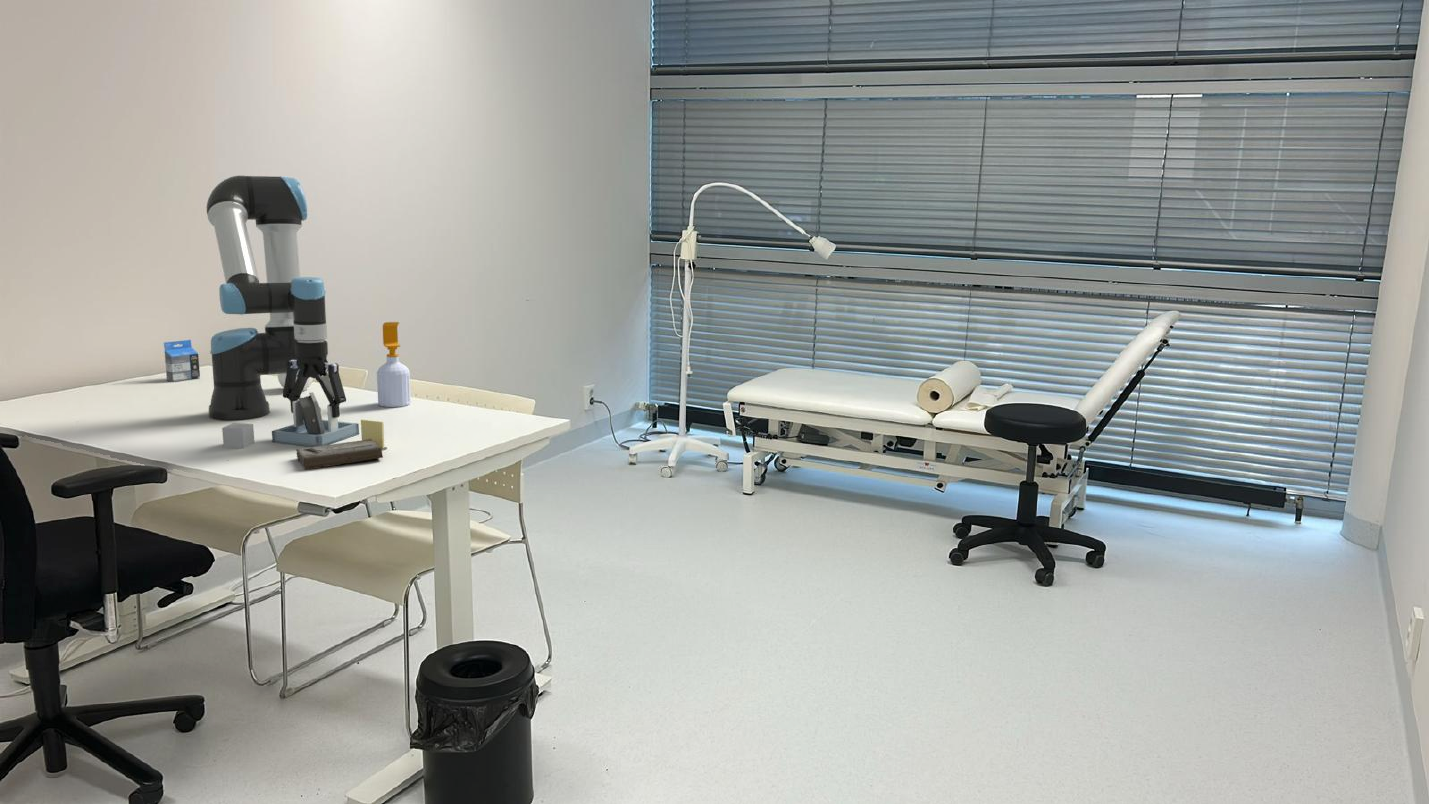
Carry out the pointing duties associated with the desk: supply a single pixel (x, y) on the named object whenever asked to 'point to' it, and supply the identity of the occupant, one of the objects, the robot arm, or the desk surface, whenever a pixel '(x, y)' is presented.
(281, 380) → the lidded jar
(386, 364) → the soap bottle
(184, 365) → the label tape cartridge
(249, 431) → the grey block
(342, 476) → the desk surface
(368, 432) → the label card
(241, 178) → the robot arm
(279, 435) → the parts tray
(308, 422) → the electrical switch
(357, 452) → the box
